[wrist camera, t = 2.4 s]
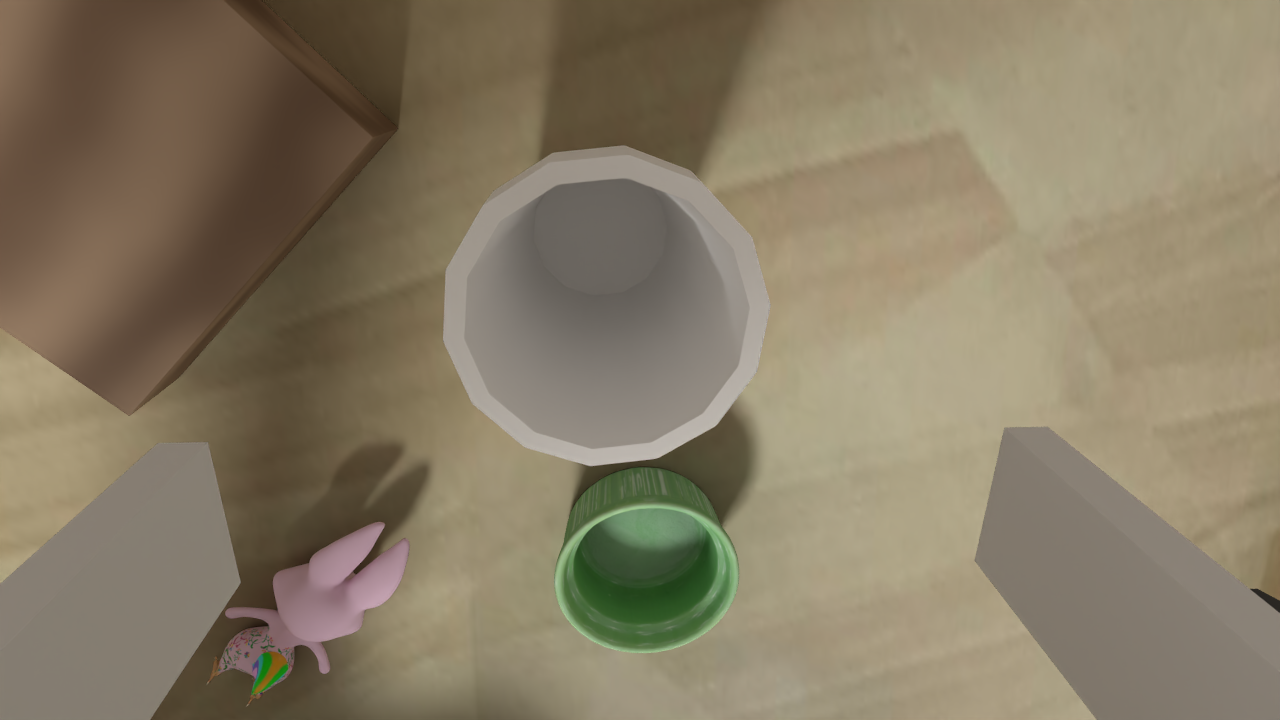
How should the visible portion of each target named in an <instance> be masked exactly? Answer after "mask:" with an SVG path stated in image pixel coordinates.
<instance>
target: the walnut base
mask: <svg viewBox="0 0 1280 720" xmlns="http://www.w3.org/2000/svg"><path fill="white" fill-rule="evenodd" d="M397 129H398V128H397V127H396V126H395V125H394V124H393V123H392V122H391V121H390V120H389V119H388V118H387V117H386V116H385V115H383V114H382V113H381V112H380V111H379V110H378V109H377V108H376V107H375V106H374V105H373V104H372V103H371V102H370V101H369V100H367V99H366V98H365V97H364V96H363V95H362V94H361V93H360V92H359V91H358V90H357V89H356V88H355V87H354V86H352V85H351V84H350V83H349V82H348V81H347V80H346V79H345V78H344V77H343V76H342V75H341V74H340V73H339V72H338V71H336V70H335V69H334V68H333V67H332V66H331V65H330V64H329V63H328V62H327V61H326V60H325V59H324V58H323V57H321V56H320V55H319V54H318V53H317V52H316V51H315V50H314V49H313V48H312V47H311V46H310V45H309V44H308V43H307V42H305V41H304V40H303V39H302V38H301V37H300V36H299V35H298V34H297V33H296V32H295V31H294V30H293V29H292V28H290V27H289V26H288V25H287V24H286V23H285V22H284V21H283V20H282V19H281V18H280V17H279V16H278V15H277V14H276V13H274V12H273V11H272V10H271V9H270V8H269V7H268V6H267V5H266V4H265V3H264V2H263V1H262V0H0V328H2V329H3V330H5V331H6V332H7V333H9V334H10V335H12V336H13V337H15V338H16V339H18V340H19V341H21V342H22V343H24V344H25V345H26V346H28V347H29V348H31V349H32V350H34V351H35V352H37V353H38V354H40V355H41V356H43V357H44V358H45V359H47V360H48V361H50V362H51V363H53V364H54V365H56V366H57V367H59V368H60V369H61V370H63V371H64V372H66V373H67V374H69V375H70V376H72V377H73V378H75V379H76V380H78V381H79V382H80V383H82V384H83V385H85V386H86V387H88V388H89V389H91V390H92V391H94V392H95V393H97V394H98V395H99V396H101V397H102V398H104V399H105V400H107V401H108V402H110V403H111V404H113V405H114V406H115V407H117V408H118V409H120V410H121V411H123V412H124V413H126V414H127V415H129V416H130V415H131V414H133V413H134V412H135V411H137V410H138V409H139V408H140V407H142V406H143V405H144V404H146V403H147V402H148V401H149V400H151V399H152V398H153V397H155V396H156V395H157V394H158V393H160V392H161V391H162V390H164V389H165V388H166V387H167V386H169V385H170V384H171V383H173V382H174V381H175V380H176V379H178V378H179V377H180V376H181V374H182V373H183V372H184V371H185V370H186V369H187V368H188V366H189V365H190V364H191V363H192V362H193V361H194V360H195V359H196V357H197V356H198V355H199V354H200V353H201V352H202V351H203V349H204V348H205V347H206V346H207V345H208V344H209V343H210V342H211V340H212V339H213V338H214V337H215V336H216V335H217V334H218V332H219V331H220V330H221V329H222V328H223V327H224V326H225V325H226V323H227V322H228V321H229V320H230V319H231V318H232V317H233V315H234V314H235V313H236V312H237V311H238V310H239V309H240V307H241V306H242V305H243V304H244V303H245V302H246V301H247V300H248V298H249V297H250V296H251V295H252V294H253V293H254V292H255V290H256V289H257V288H258V287H259V286H260V285H261V284H262V283H263V281H264V280H265V279H266V278H267V277H268V276H269V275H270V273H271V272H272V271H273V270H274V269H275V268H276V267H277V266H278V264H279V263H280V262H281V261H282V260H283V259H284V258H285V256H286V255H287V254H288V253H289V252H290V251H291V250H292V249H293V247H294V246H295V245H296V244H297V243H298V242H299V241H300V239H301V238H302V237H303V236H304V235H305V234H306V233H307V231H308V230H309V229H310V228H311V227H312V226H313V225H314V224H315V222H316V221H317V220H318V219H319V218H320V217H321V216H322V214H323V213H324V212H325V211H326V210H327V209H328V208H329V207H330V205H331V204H332V203H333V202H334V201H335V200H336V199H337V197H338V196H339V195H340V194H341V193H342V192H343V191H344V190H345V188H346V187H347V186H348V185H349V184H350V183H351V182H352V180H353V179H354V178H355V177H356V176H357V175H358V174H359V172H360V171H361V170H362V169H363V168H364V167H365V166H366V165H367V163H368V162H369V161H370V160H371V159H372V158H373V157H374V155H375V154H376V153H377V152H378V151H379V150H380V149H381V148H382V146H383V145H384V144H385V143H386V142H387V141H388V140H389V138H390V137H391V136H392V135H393V134H394V133H395V132H396V131H397Z"/></svg>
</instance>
